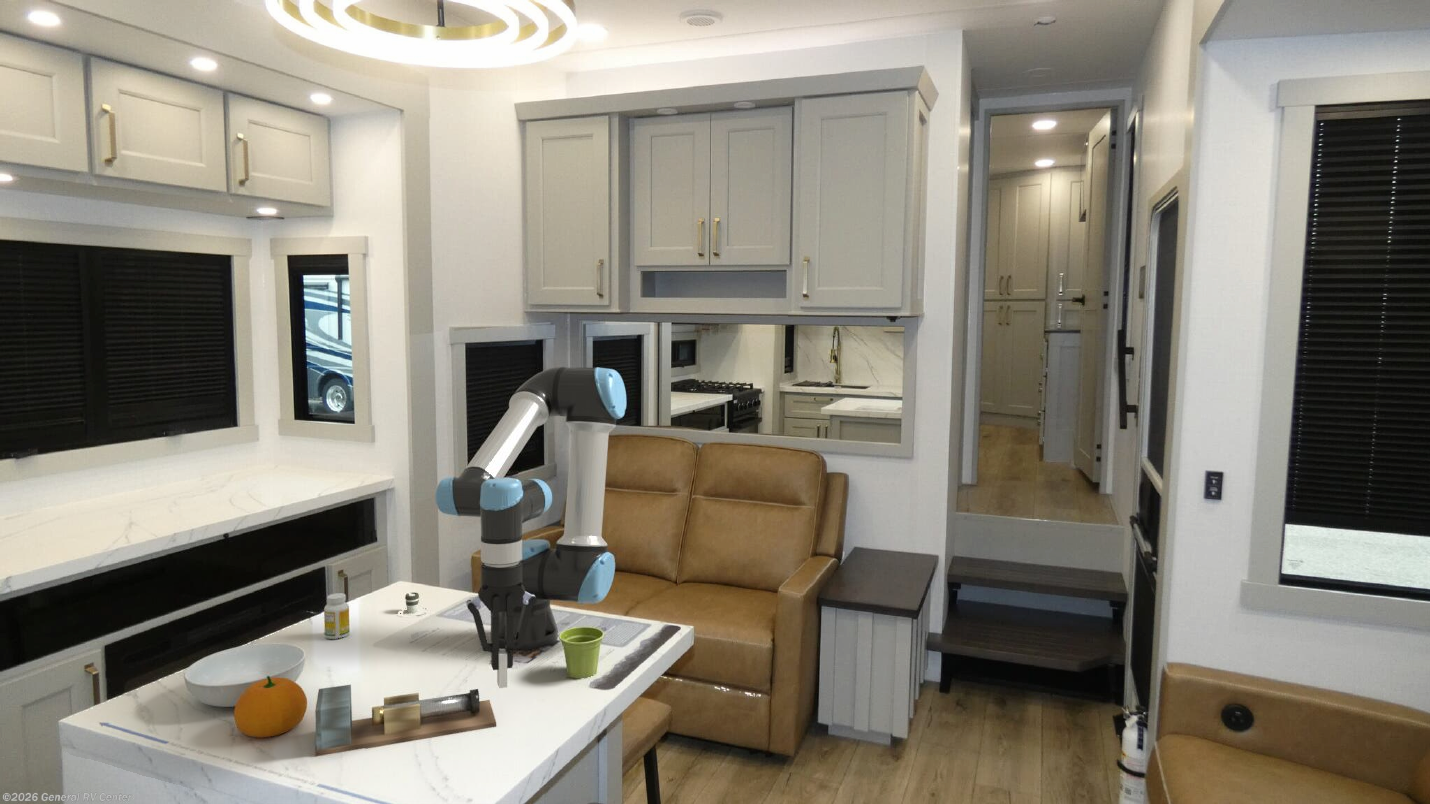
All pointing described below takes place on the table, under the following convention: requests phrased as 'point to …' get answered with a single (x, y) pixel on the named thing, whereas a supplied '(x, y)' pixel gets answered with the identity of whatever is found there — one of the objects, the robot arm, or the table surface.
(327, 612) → the supplement bottle
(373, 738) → the base
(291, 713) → the fruit
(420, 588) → the table surface
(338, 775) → the table surface
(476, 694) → the tube
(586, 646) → the plant pot
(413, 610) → the coffee cup
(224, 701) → the serving bowl
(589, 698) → the table surface
